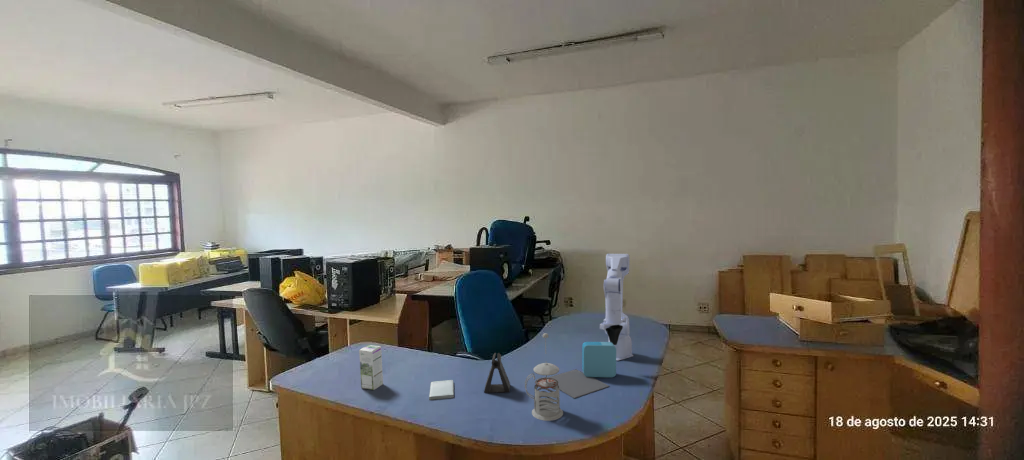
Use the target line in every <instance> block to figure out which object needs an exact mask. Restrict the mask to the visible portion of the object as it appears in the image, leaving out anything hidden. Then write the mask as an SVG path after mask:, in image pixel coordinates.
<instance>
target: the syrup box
mask: <svg viewBox="0 0 1024 460" xmlns="http://www.w3.org/2000/svg"><path fill="white" fill-rule="evenodd" d="M358 352H359V353H358V354H359V368H360V369H359V371H360V388H361V389H362V390H363V389H364V390H372V391H375V390H377V389H379V387H381V386H383V384H384V375H383V357H382V355H383V354H382V352H383V351H382V345H381V346H380V345H365V346H364V347H362V348H361V349H359V350H358Z"/></svg>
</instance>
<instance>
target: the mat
mask: <svg viewBox="0 0 1024 460" xmlns="http://www.w3.org/2000/svg"><path fill="white" fill-rule="evenodd" d="M547 378H554V379H556V380H557V381H558V385H559V391H560V392H563V393H564V394H566V395H568V396H569V397H571V398H572V399H578V398H579V397H583V396H585V395H588V394H589V395H590V394H591V393H595V392H597V391H602V390H603V389H606V388H609V387H610V385H608V384H607V383H604V382H603V381H600V380H598V379H597V378H596V377H586V376H585V375H584V373H583V371H580V370H579V369H577V368H576V369H572V370H568V371H565V372H562V373H559V374H558V373H557V374H554V375H550V376H547Z"/></svg>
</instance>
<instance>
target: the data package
mask: <svg viewBox="0 0 1024 460" xmlns="http://www.w3.org/2000/svg"><path fill="white" fill-rule="evenodd" d="M581 346H582V347H581V351H582V352H581V369H582V372H583V373H584V375H585V376H586V377H593V378H615V376H616V375H617V360H616V347H615V346H614V344H613V343H612V342H609V341H585V342H583V343H582V345H581Z"/></svg>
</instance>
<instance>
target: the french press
mask: <svg viewBox="0 0 1024 460" xmlns="http://www.w3.org/2000/svg"><path fill="white" fill-rule="evenodd" d="M542 338H543V339H544V343H545V353H547V338H549V333H546V332H545V333H543V334H542ZM533 372H534V373H533ZM533 372H532V373H531V374H529V375H527V377H526V378H525V381H524V389H525V393H526V395H527V396H528V397H529V398H530V399H532V400H533V407H534V408H533V409H532V410H531V415H532V416H533V417H534V418H535V419H537V420H540V421H546V422H549V421H551V422H552V421H555V420H558V419H559V420H560V418H562V417H563V415H564V411H563V409H561V407H560V406H561V405H560V401H561V399H560V390H559V385H558V381H557V380H556V379H554V378H548V376H555V375H558V373H559V372H560V367H558V366H557V365H556V364H553V363H550V362H542V363H539V364H537V365H535V366H534V367H533ZM535 374H537V375H540V376H545V377H539V378H537V379H536V376H535ZM531 378H533V380H535V382H534V395H533V394H531V393H529V392H528V389H527V386H528V385H527V384H528V381H530V379H531ZM551 389H552V390H551ZM545 390H546V391H545Z"/></svg>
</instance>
